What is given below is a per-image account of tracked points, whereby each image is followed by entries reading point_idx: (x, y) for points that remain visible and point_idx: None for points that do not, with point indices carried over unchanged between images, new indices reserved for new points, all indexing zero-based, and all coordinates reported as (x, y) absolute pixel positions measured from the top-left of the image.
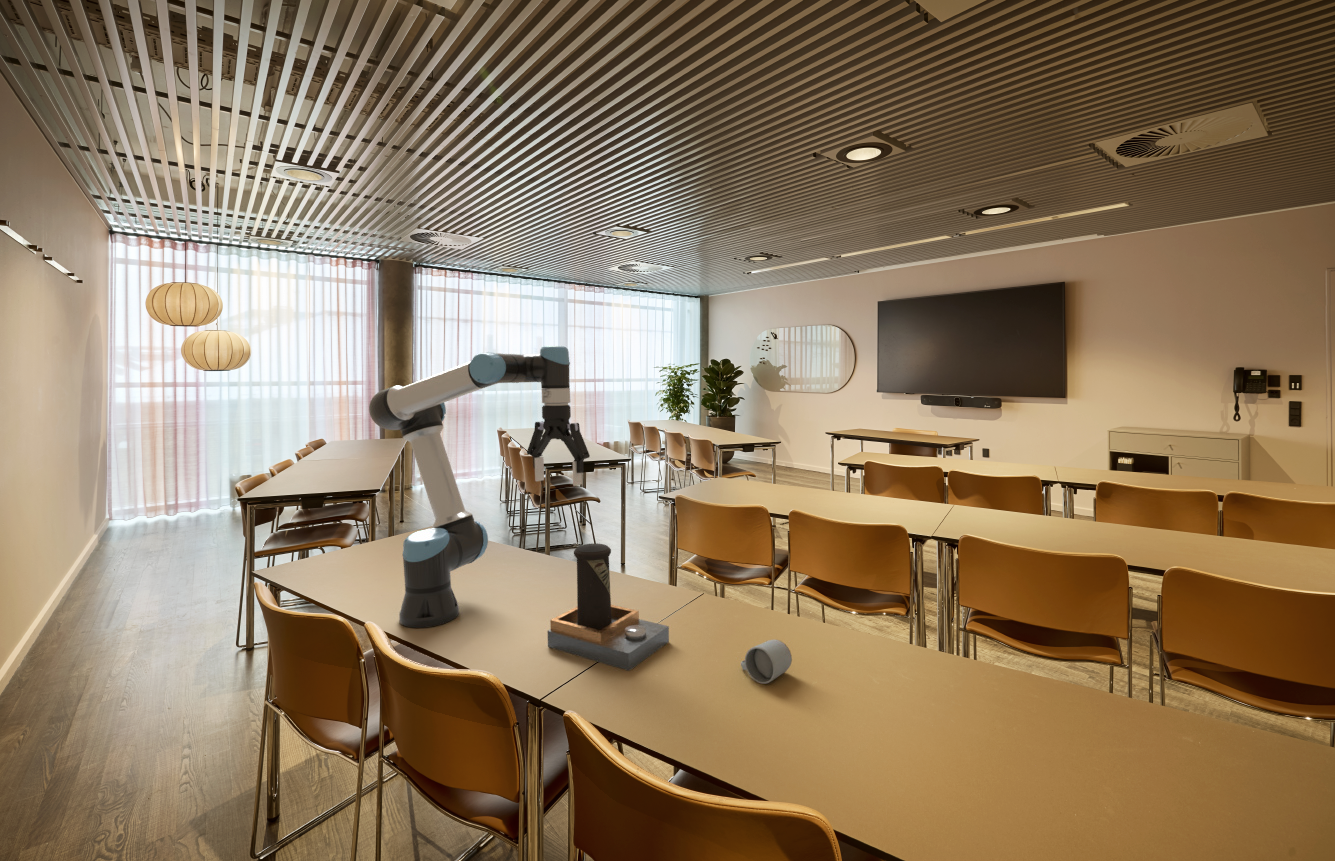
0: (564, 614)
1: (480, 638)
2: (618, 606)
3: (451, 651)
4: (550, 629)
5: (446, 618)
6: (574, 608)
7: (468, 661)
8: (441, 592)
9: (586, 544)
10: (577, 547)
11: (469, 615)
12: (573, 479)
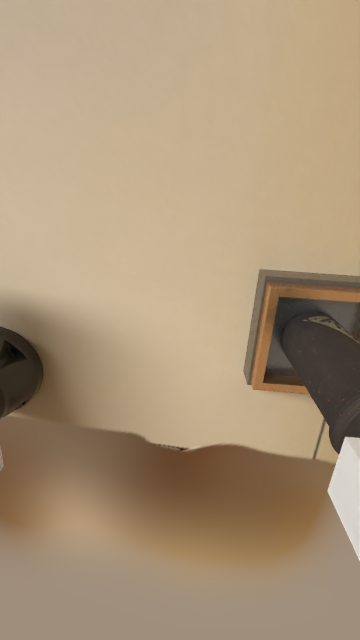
0: (262, 363)
1: (134, 388)
2: (343, 293)
3: (131, 428)
4: (248, 378)
5: (39, 375)
6: (264, 335)
7: (173, 437)
8: (7, 398)
9: (357, 418)
10: (342, 443)
11: (46, 336)
12: (350, 531)
